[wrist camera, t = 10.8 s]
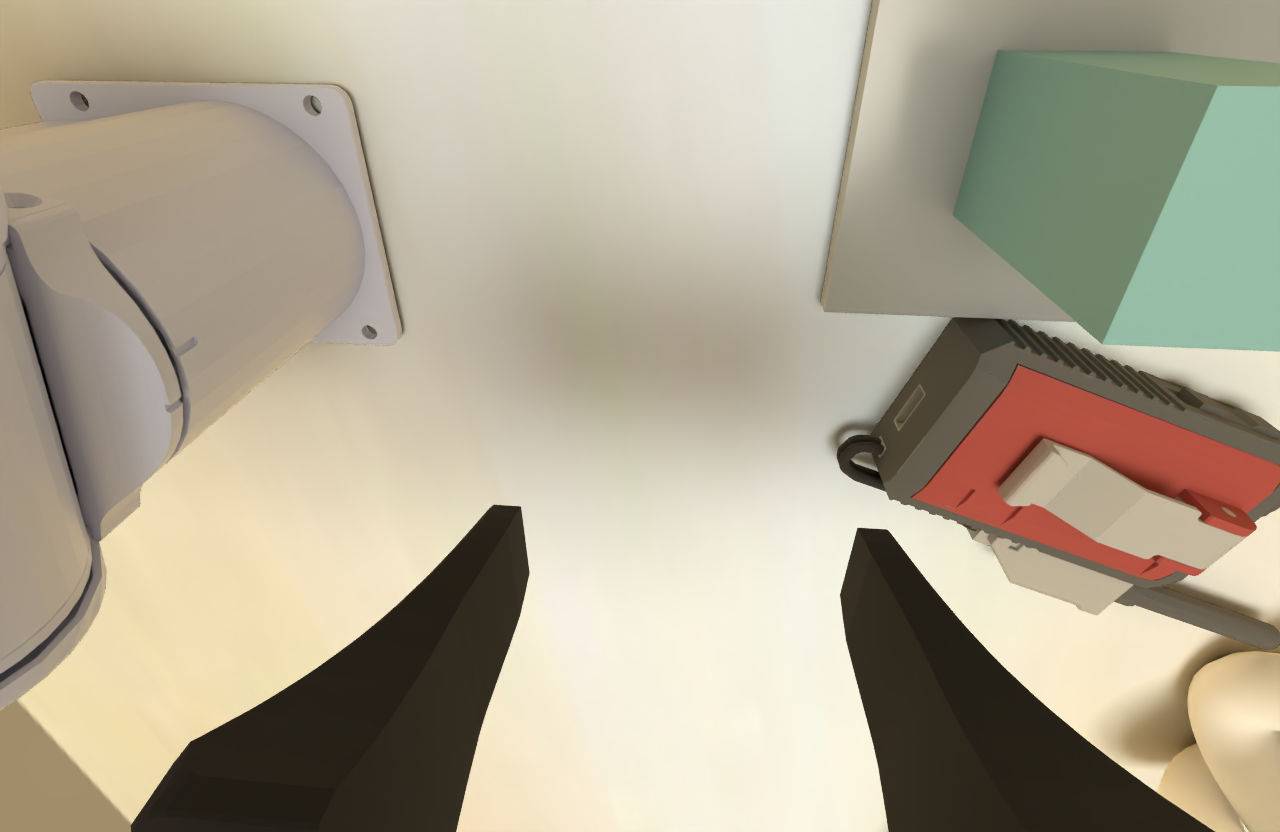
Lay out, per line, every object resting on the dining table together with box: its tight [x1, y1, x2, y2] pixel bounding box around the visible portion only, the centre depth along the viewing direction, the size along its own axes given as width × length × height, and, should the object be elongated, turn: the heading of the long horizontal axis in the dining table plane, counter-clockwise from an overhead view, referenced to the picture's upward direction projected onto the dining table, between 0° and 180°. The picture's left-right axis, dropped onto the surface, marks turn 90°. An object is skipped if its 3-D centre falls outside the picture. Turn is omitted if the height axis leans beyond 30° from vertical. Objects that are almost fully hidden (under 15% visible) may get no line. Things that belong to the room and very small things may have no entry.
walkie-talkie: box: [837, 317, 1280, 649], centre depth 22 cm, size 9×4×20 cm
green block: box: [953, 50, 1280, 351], centre depth 13 cm, size 4×4×8 cm
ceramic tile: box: [821, 0, 1280, 322], centre depth 17 cm, size 10×10×1 cm
